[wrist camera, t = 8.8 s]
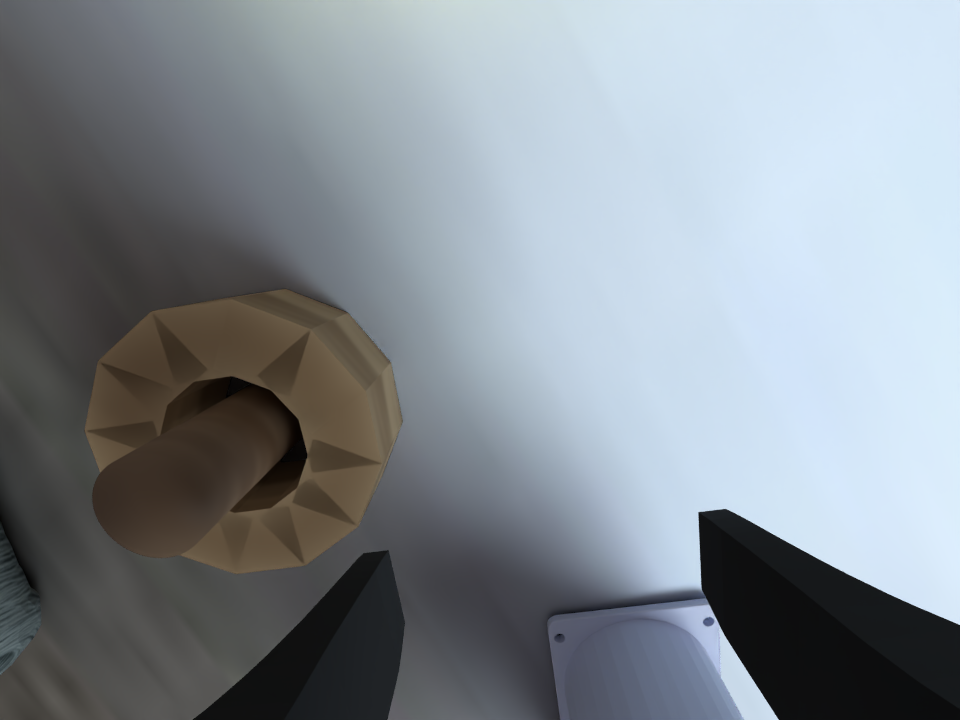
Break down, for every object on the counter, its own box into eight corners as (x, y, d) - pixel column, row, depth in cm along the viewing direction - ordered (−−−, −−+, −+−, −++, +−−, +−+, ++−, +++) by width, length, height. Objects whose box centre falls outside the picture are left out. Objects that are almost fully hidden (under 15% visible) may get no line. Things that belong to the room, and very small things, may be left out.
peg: (325, 433, 20) (221, 550, 12) (259, 442, 20) (114, 563, 12) (309, 368, 19) (188, 448, 11) (241, 377, 19) (75, 462, 11)
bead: (417, 496, 20) (401, 554, 17) (207, 523, 21) (143, 585, 17) (373, 275, 18) (341, 281, 14) (137, 311, 19) (45, 327, 15)
